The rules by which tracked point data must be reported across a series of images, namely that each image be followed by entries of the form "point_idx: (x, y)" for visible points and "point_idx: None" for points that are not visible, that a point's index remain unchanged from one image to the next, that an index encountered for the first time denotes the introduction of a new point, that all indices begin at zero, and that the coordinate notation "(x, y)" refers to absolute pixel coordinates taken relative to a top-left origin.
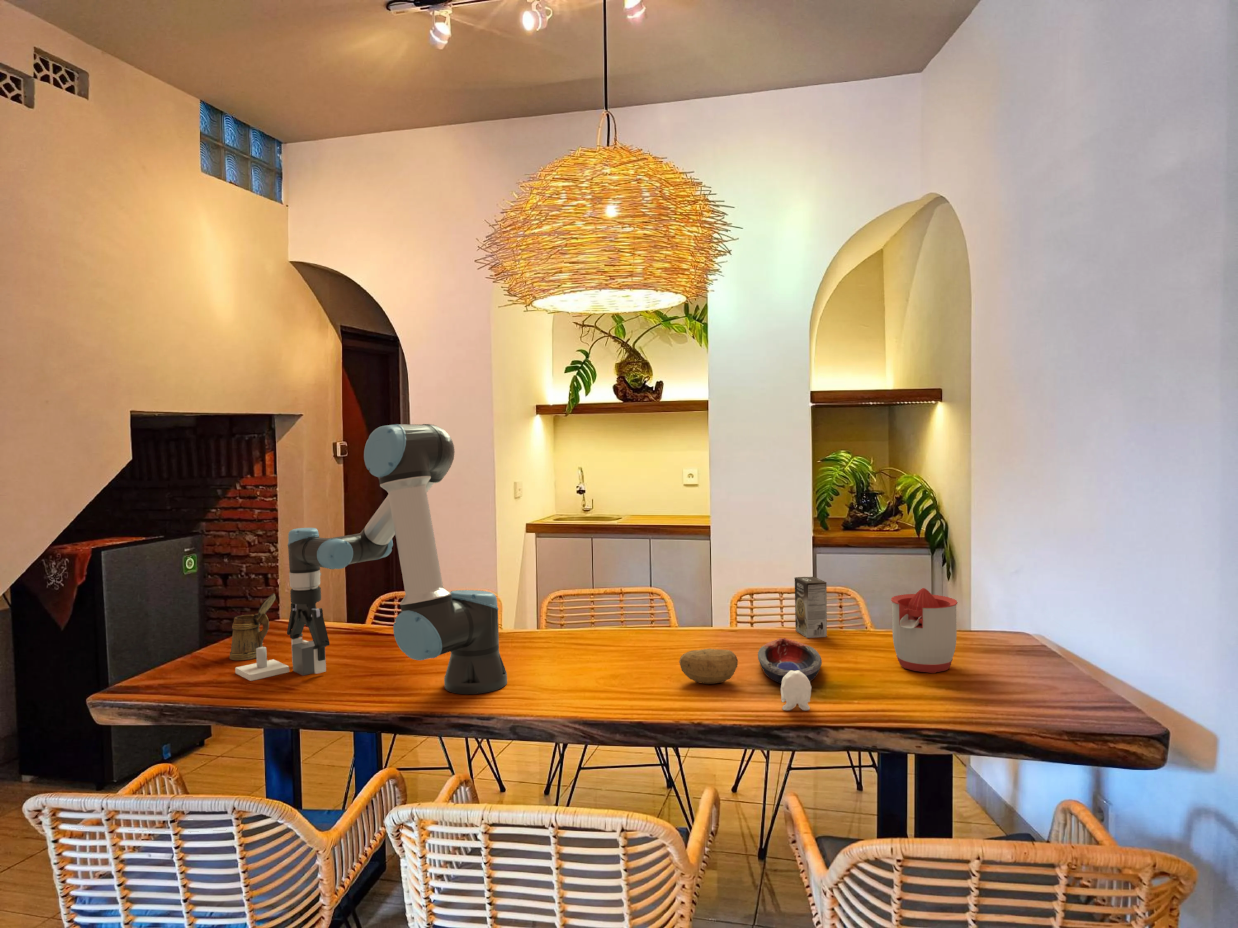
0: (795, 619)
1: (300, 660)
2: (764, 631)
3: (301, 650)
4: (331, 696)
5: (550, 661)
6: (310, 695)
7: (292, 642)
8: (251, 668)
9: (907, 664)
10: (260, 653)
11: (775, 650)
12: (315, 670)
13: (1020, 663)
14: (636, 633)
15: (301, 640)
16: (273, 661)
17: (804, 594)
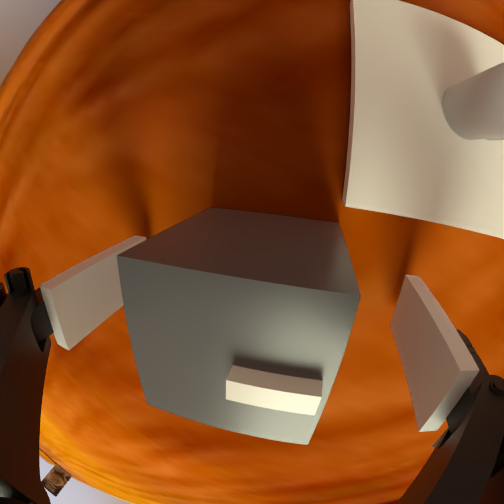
0: (68, 480)
1: (203, 228)
2: (76, 477)
3: (133, 249)
4: (4, 167)
5: (52, 429)
6: (26, 127)
7: (454, 353)
8: (475, 69)
9: None
10: (493, 69)
11: None
12: (128, 239)
13: None
14: (109, 490)
15: (418, 410)
16: (500, 219)
17: (46, 481)
